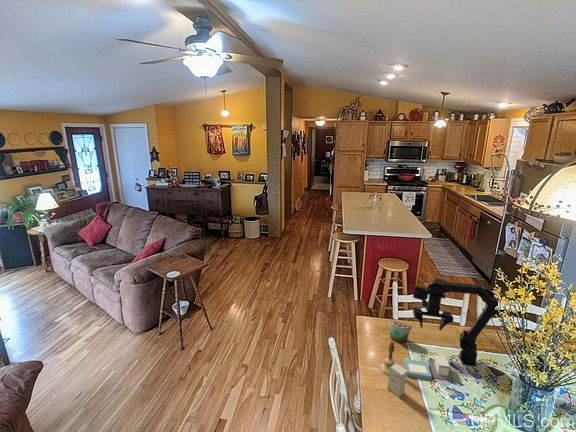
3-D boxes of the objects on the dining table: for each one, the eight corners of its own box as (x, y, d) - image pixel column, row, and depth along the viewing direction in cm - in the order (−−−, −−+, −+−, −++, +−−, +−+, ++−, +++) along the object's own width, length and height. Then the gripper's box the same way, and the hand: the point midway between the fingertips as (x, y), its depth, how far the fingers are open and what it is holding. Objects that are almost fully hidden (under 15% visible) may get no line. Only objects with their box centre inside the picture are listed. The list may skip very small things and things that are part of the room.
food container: (385, 340, 172) (387, 324, 169) (387, 333, 177) (389, 318, 175) (408, 347, 167) (410, 331, 164) (410, 340, 172) (412, 325, 169)
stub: (444, 365, 153) (445, 356, 152) (448, 376, 146) (449, 366, 145) (434, 364, 154) (435, 354, 152) (437, 374, 147) (439, 365, 146)
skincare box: (386, 389, 139) (389, 366, 136) (392, 384, 142) (395, 362, 139) (399, 398, 134) (402, 375, 131) (404, 393, 137) (408, 370, 134)
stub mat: (447, 363, 155) (448, 362, 155) (454, 381, 144) (455, 380, 144) (427, 360, 157) (427, 359, 157) (433, 378, 146) (433, 377, 146)
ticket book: (426, 364, 154) (427, 361, 153) (431, 380, 145) (431, 376, 144) (403, 361, 156) (404, 357, 156) (406, 375, 147) (407, 372, 146)
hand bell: (397, 365, 153) (401, 338, 149) (397, 377, 146) (400, 349, 141) (380, 361, 156) (383, 334, 152) (379, 372, 148) (382, 344, 144)
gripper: (449, 297, 164) (445, 322, 168) (412, 293, 168) (409, 317, 172) (455, 308, 154) (451, 335, 158) (416, 303, 158) (412, 329, 162)
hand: (430, 328), depth 163 cm, fingers open, 9 cm apart
